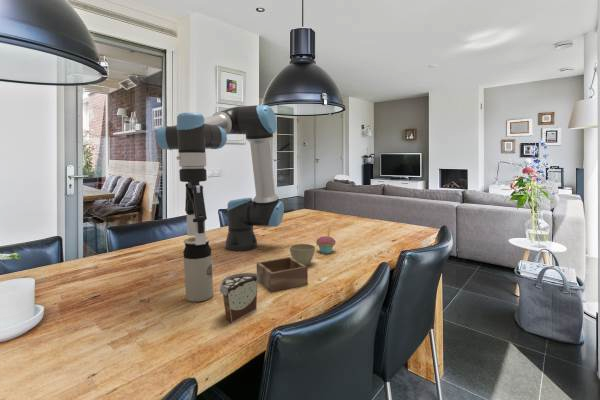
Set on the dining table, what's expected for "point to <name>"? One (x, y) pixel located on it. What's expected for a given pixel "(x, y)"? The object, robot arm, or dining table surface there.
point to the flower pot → (302, 253)
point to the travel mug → (198, 270)
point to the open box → (282, 274)
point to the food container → (239, 295)
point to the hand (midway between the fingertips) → (196, 239)
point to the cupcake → (325, 243)
